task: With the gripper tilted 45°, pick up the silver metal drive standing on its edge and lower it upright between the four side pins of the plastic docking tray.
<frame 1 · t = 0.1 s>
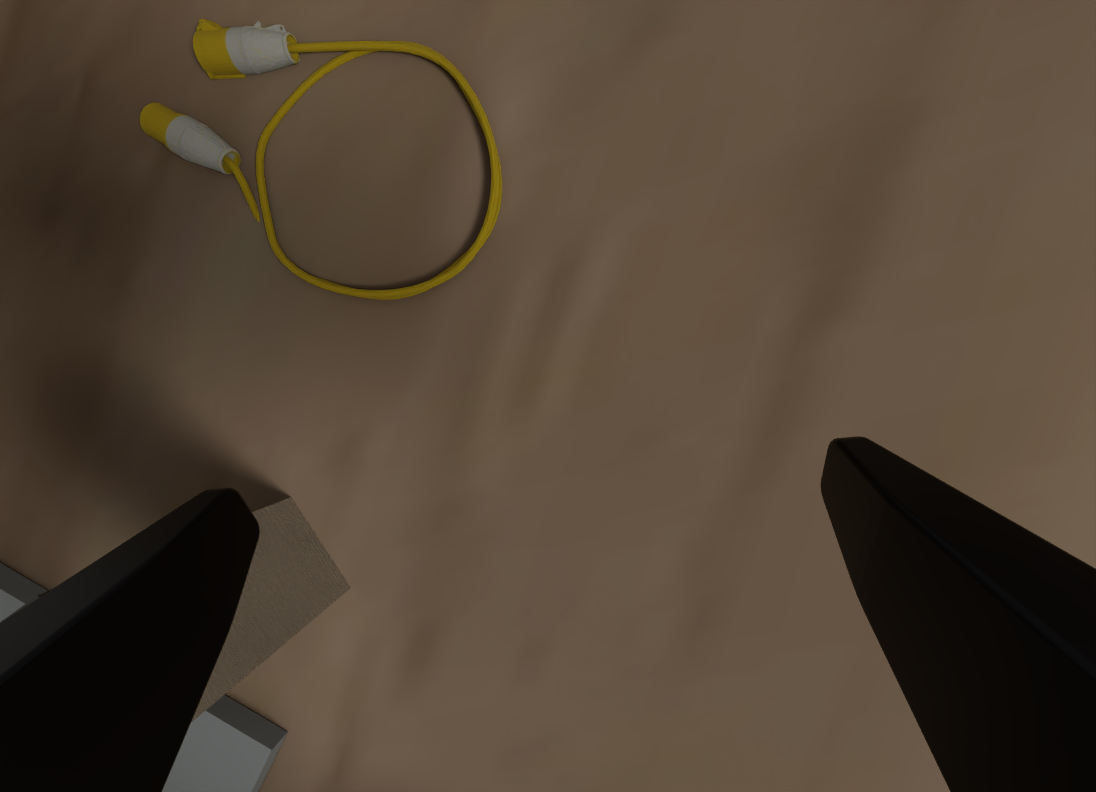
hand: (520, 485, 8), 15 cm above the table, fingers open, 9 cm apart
extension cord: (348, 156, 24), on the table
drive: (287, 565, 24), on the table
dock: (73, 759, 26), on the table
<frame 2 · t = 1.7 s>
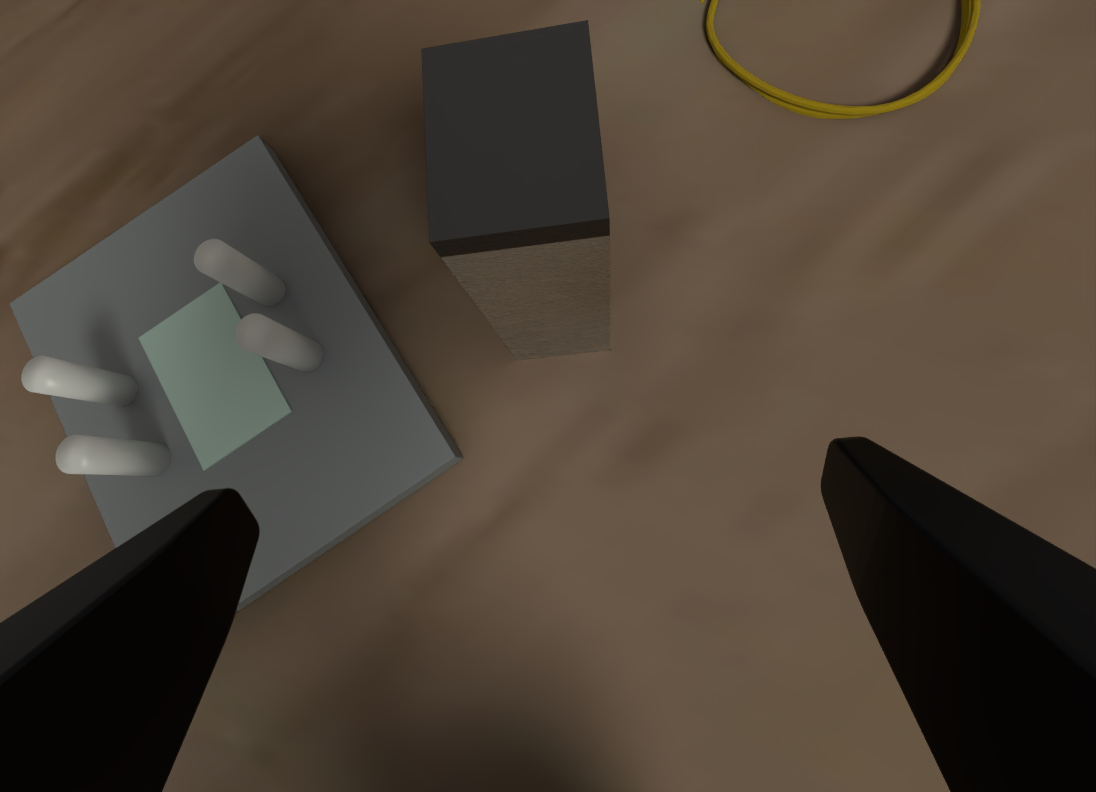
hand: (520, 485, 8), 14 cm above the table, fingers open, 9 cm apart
drive: (558, 298, 23), on the table
dock: (233, 379, 24), on the table
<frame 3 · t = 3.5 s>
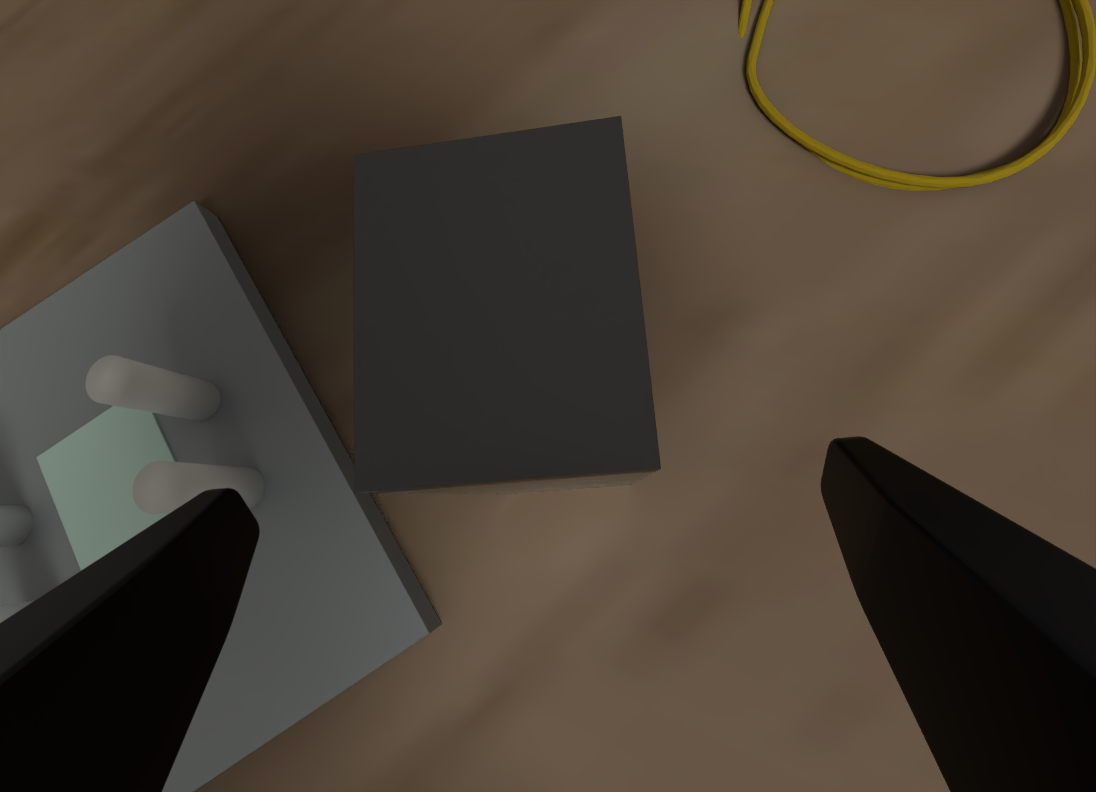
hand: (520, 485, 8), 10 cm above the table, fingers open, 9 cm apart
extension cord: (868, 26, 20), on the table
drive: (564, 415, 18), on the table
dock: (157, 506, 19), on the table
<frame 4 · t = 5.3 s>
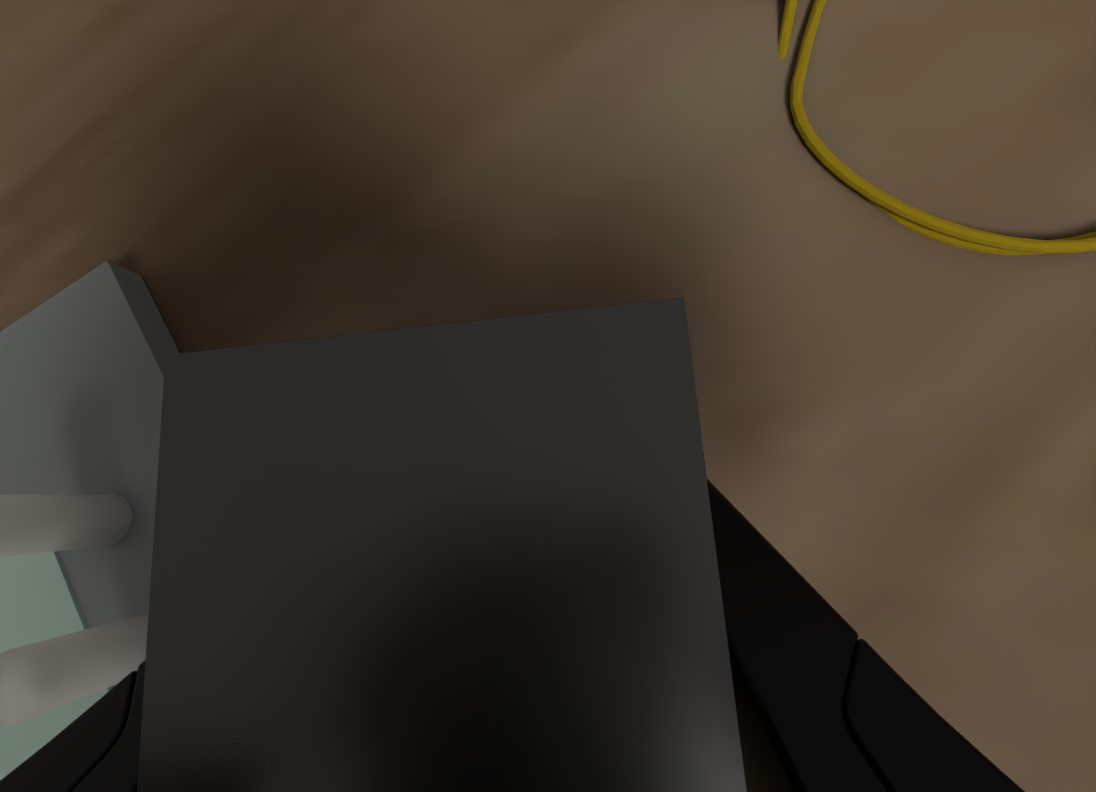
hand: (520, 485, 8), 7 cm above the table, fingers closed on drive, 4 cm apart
extension cord: (937, 42, 16), on the table
drive: (565, 540, 14), on the table, touching gripper
dock: (59, 645, 15), on the table
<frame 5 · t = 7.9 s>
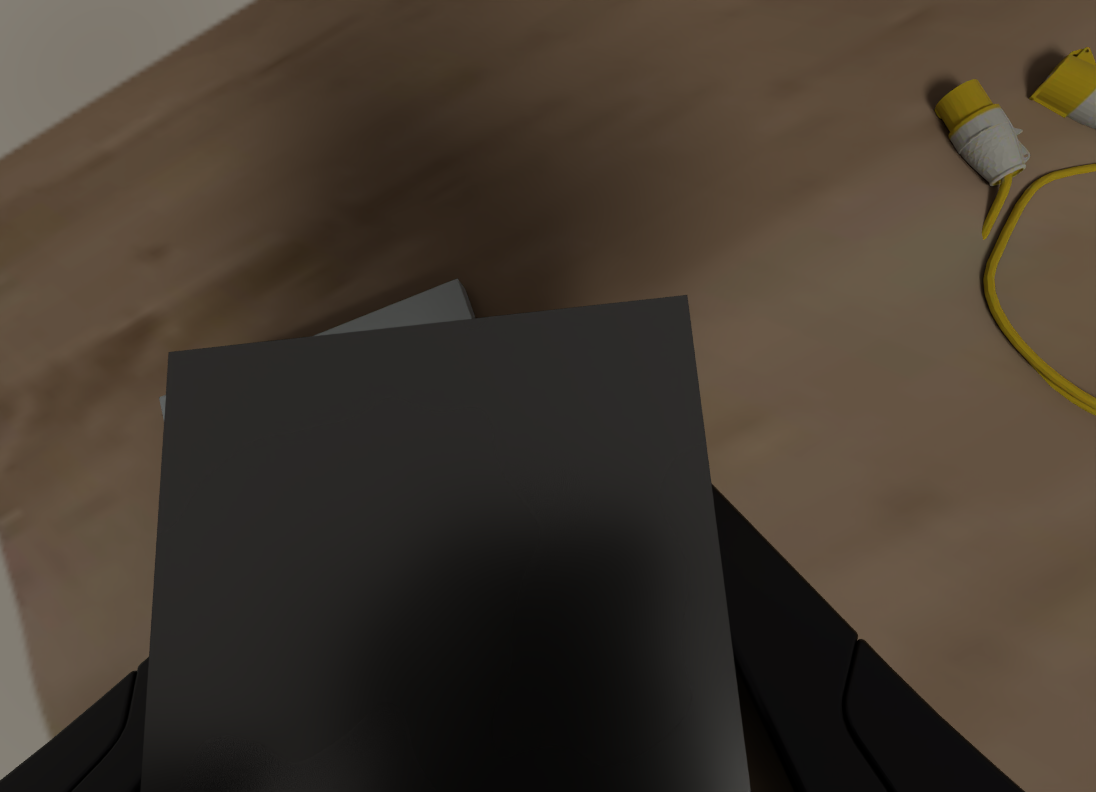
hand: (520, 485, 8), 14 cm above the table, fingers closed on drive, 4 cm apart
drive: (566, 539, 14), point 7 cm above the table, touching gripper
dock: (376, 541, 22), on the table
when the fingers open (9 cm above the table, at t = 10.6 s): drive drops 1 cm, resting on dock.
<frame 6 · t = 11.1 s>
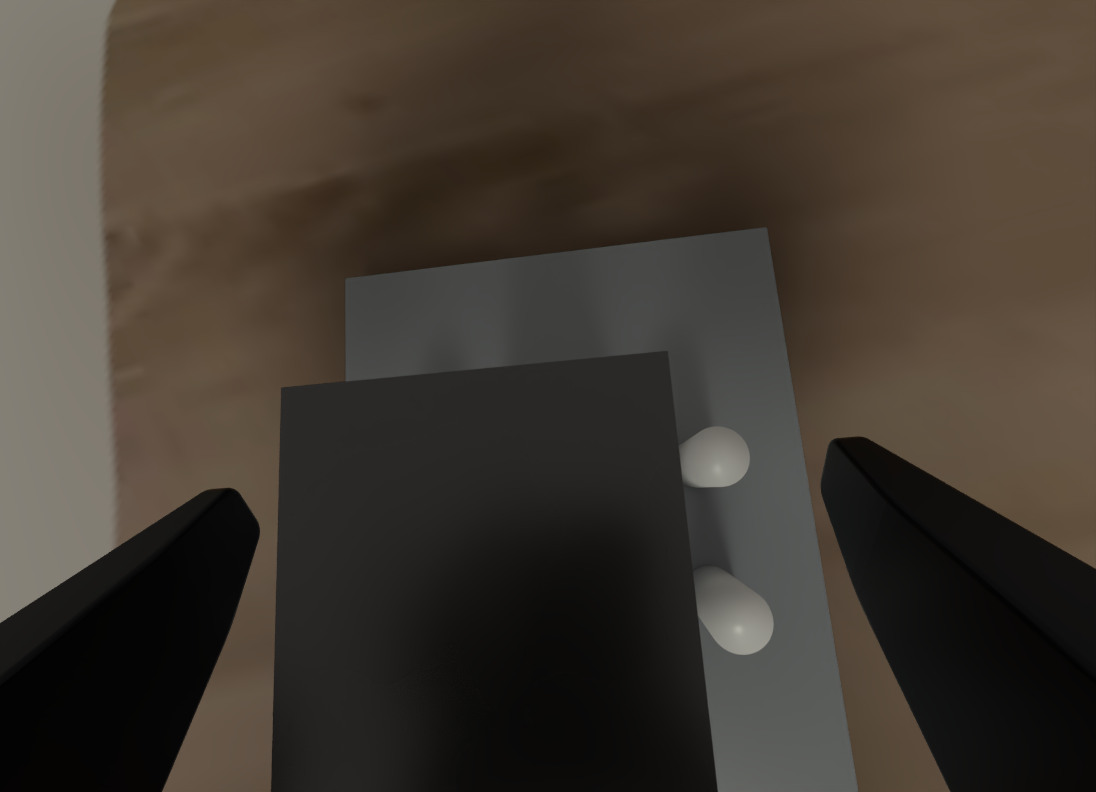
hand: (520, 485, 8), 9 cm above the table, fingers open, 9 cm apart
drive: (569, 534, 16), point 1 cm above the table, touching dock
dock: (572, 531, 17), on the table
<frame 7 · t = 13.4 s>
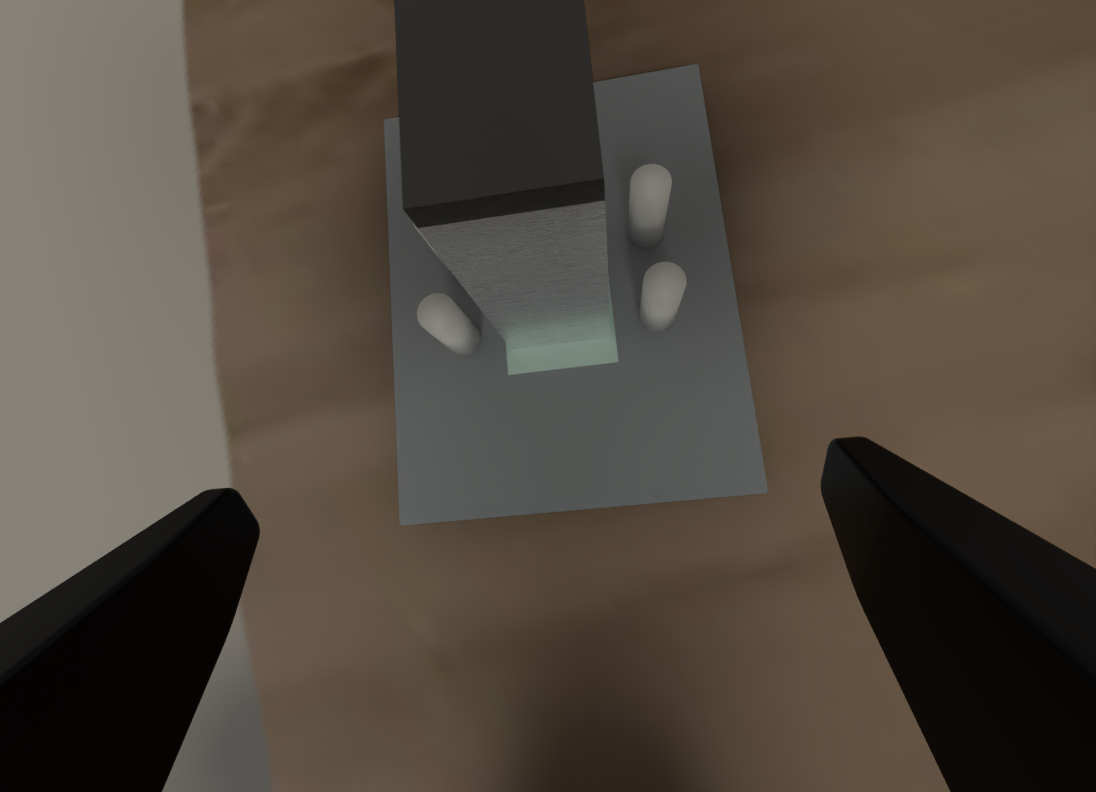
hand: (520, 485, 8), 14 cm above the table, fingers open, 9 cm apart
drive: (555, 284, 21), point 1 cm above the table, touching dock
dock: (558, 296, 23), on the table
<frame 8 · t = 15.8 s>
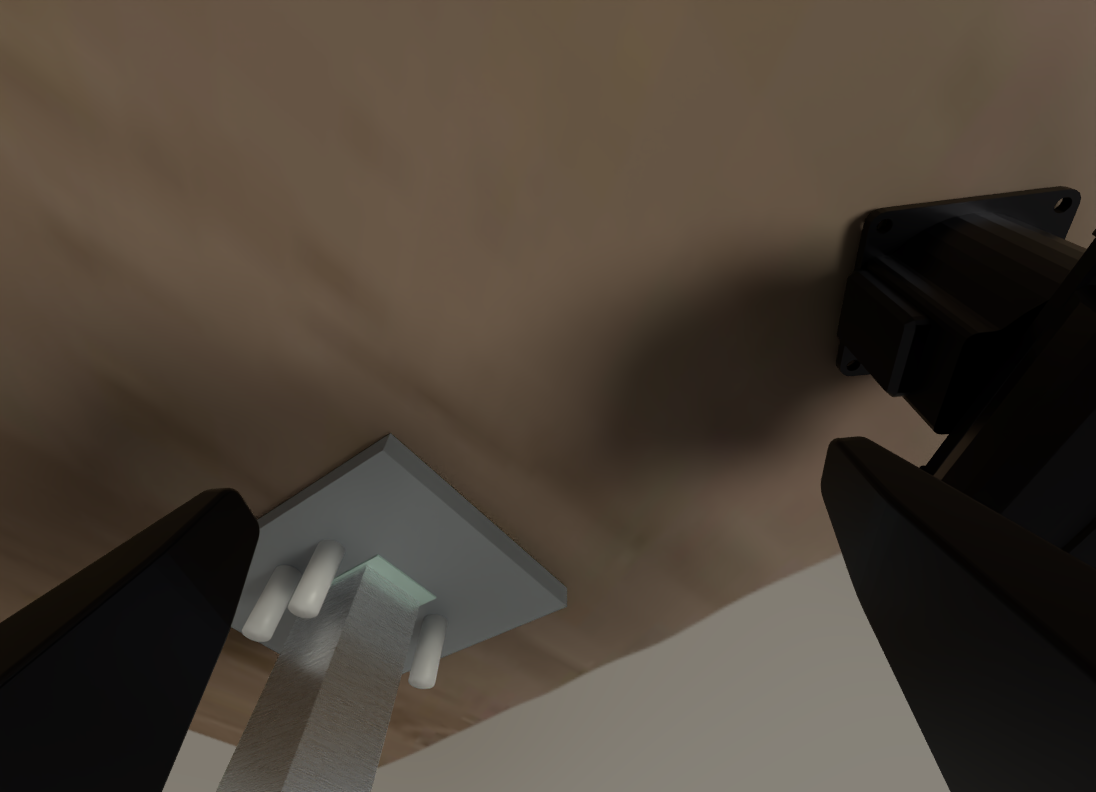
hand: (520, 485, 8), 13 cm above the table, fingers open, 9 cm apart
drive: (363, 599, 30), point 1 cm above the table, touching dock
dock: (370, 580, 31), on the table
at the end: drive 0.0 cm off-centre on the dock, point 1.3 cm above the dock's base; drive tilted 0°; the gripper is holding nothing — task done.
